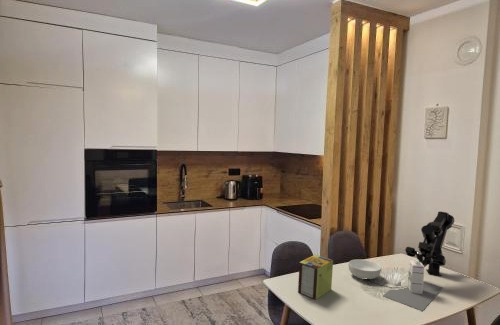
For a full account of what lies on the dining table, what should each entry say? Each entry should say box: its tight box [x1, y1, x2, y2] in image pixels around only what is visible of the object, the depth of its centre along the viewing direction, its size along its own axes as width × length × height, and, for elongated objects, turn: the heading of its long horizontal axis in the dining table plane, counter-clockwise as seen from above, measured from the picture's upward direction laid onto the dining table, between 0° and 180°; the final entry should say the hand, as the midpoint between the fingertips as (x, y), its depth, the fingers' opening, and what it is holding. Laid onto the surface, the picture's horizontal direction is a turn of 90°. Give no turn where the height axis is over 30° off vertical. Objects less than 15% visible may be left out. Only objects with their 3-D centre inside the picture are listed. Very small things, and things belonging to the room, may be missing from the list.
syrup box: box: [408, 260, 425, 294], centre depth 164 cm, size 6×6×14 cm
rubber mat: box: [382, 280, 444, 312], centre depth 164 cm, size 34×18×1 cm, turn 136°
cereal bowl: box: [348, 258, 382, 281], centre depth 179 cm, size 17×17×7 cm
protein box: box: [297, 254, 334, 301], centre depth 160 cm, size 10×15×16 cm
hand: (420, 269), depth 169 cm, fingers closed
